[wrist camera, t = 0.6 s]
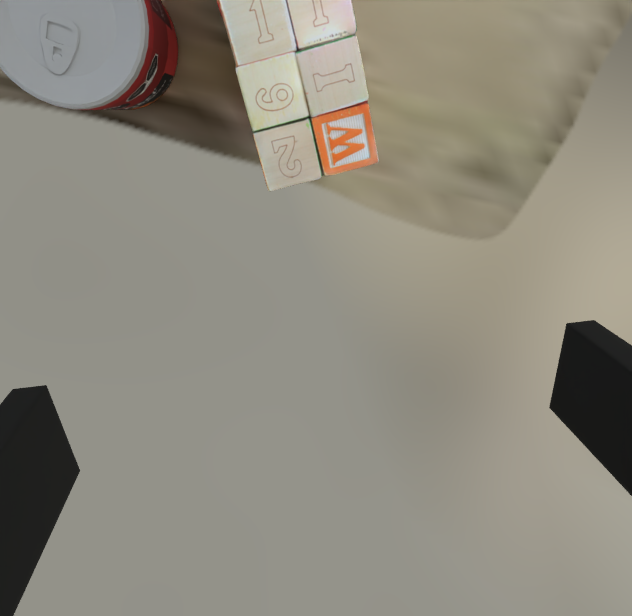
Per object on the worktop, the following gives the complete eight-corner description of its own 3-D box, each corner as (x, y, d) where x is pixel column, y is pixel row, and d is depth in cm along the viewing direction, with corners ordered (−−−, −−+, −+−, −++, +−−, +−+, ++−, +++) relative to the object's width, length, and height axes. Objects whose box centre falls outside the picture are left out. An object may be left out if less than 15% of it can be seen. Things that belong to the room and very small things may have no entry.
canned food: (74, 109, 32) (-7, 108, 22) (50, -28, 29) (-57, -101, 19) (185, 111, 33) (156, 111, 23) (174, -21, 30) (134, -88, 20)
